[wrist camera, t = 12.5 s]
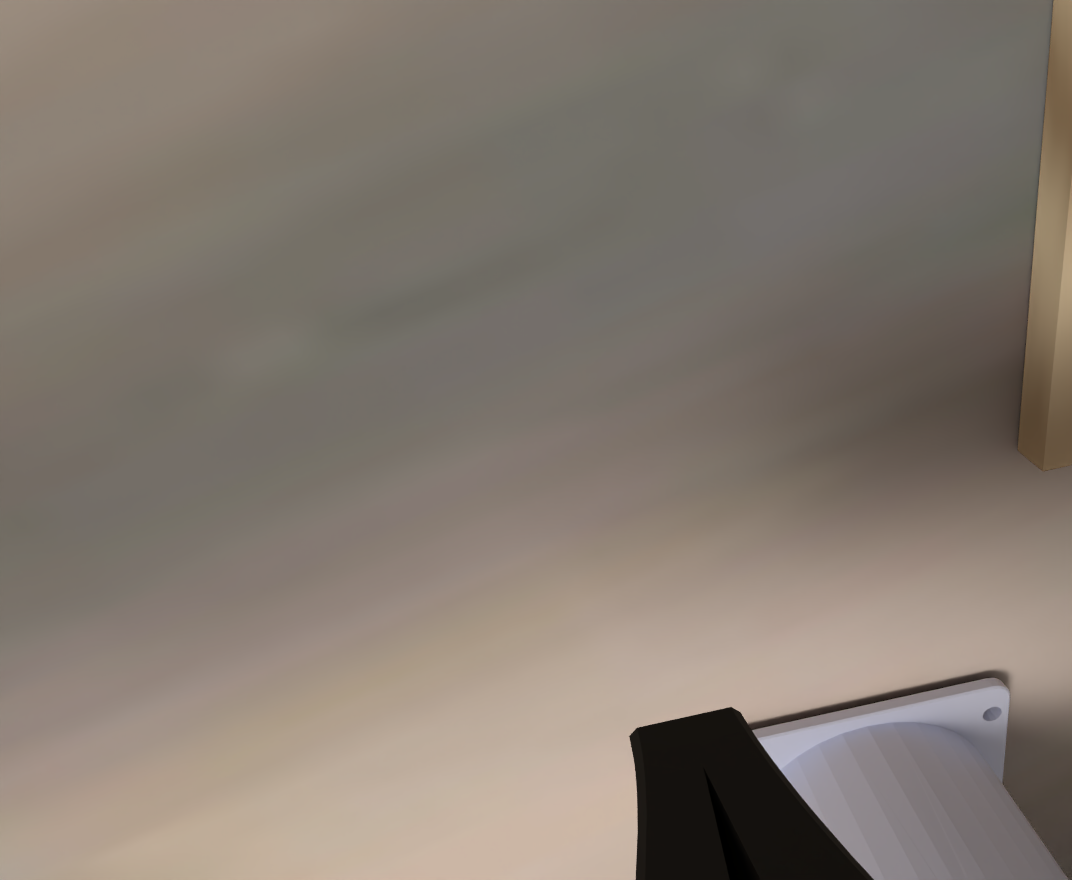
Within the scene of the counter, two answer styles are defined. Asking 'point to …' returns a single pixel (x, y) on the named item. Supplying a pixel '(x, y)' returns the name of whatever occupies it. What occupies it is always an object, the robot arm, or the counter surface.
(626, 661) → the counter surface
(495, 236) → the counter surface
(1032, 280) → the baseplate
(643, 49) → the counter surface
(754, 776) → the robot arm
